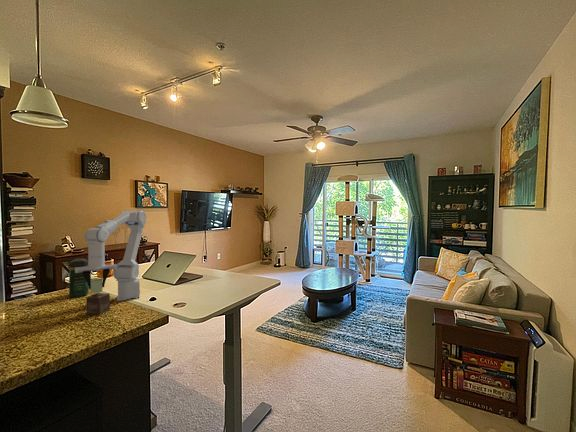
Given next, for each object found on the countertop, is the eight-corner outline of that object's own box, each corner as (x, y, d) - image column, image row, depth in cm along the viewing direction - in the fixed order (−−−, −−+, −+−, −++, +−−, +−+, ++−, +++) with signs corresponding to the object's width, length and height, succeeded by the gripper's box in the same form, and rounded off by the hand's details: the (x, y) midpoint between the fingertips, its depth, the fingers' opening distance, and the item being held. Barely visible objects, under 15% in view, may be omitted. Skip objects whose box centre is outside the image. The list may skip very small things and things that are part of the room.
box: (110, 309, 119) (110, 293, 119) (99, 315, 113) (99, 297, 113) (97, 309, 119) (97, 292, 119) (86, 314, 113) (85, 297, 113)
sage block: (102, 289, 119) (102, 278, 119) (102, 291, 116) (102, 280, 116) (91, 290, 117) (91, 279, 117) (90, 293, 113) (90, 281, 113)
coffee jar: (88, 296, 137) (88, 259, 137) (68, 298, 133) (68, 261, 132) (89, 291, 145) (89, 256, 145) (70, 293, 140) (70, 258, 140)
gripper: (74, 259, 109) (74, 292, 109) (116, 256, 116) (116, 287, 117) (76, 256, 115) (76, 288, 115) (116, 253, 122) (116, 283, 123)
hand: (96, 287), depth 116 cm, fingers closed on sage block, 4 cm apart
